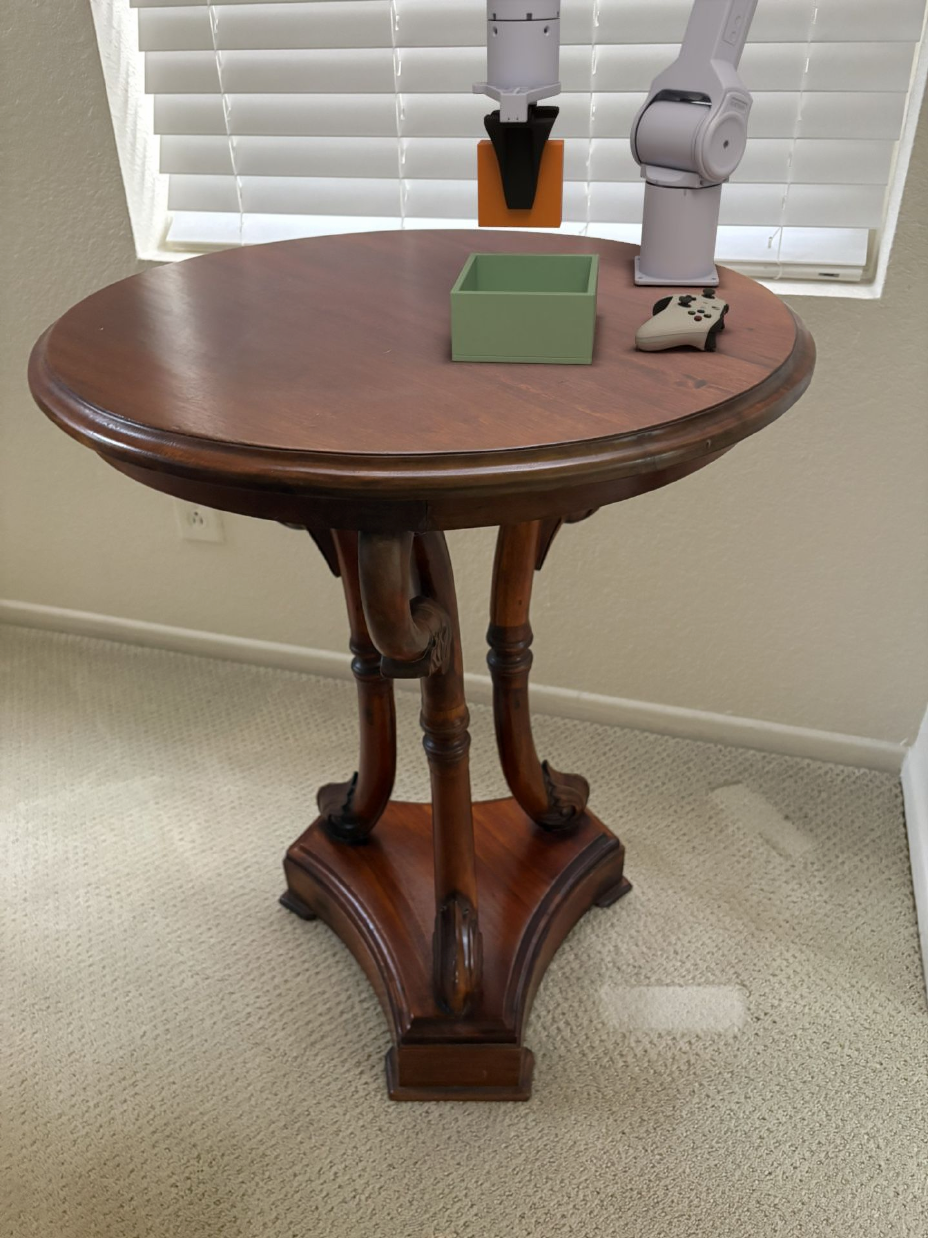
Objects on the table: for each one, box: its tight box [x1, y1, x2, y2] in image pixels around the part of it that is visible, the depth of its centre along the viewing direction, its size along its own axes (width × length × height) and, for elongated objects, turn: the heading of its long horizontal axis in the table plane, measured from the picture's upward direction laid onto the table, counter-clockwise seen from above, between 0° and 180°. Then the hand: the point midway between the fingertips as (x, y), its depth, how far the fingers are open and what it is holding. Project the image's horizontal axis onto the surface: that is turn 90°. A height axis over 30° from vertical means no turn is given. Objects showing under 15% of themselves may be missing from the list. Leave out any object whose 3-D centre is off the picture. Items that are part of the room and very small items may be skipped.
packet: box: [476, 139, 565, 229], centre depth 85 cm, size 2×7×6 cm, turn 81°
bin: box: [449, 252, 600, 365], centre depth 84 cm, size 12×11×6 cm
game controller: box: [634, 287, 730, 352], centre depth 84 cm, size 10×5×6 cm
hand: (521, 204), depth 86 cm, fingers closed on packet, 2 cm apart
